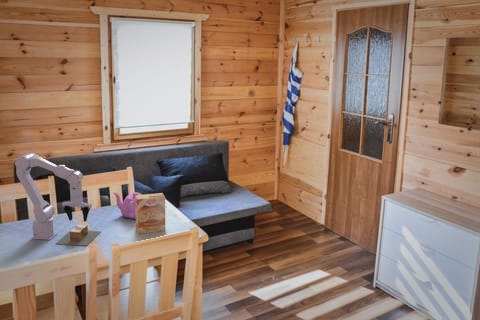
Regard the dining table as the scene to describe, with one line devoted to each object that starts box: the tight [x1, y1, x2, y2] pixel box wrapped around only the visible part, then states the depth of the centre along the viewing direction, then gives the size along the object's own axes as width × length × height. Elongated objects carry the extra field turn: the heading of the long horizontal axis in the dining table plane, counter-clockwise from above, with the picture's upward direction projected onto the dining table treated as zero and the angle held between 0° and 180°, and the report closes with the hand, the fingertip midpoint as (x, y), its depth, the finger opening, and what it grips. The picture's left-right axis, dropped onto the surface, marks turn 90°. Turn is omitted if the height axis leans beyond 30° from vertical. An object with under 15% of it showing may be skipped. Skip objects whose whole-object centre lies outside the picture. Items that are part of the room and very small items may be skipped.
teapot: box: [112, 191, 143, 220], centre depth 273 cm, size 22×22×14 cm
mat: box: [55, 230, 102, 247], centre depth 241 cm, size 16×18×1 cm
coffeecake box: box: [135, 192, 166, 235], centre depth 251 cm, size 15×7×20 cm, turn 112°
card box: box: [69, 223, 89, 241], centre depth 241 cm, size 10×5×5 cm, turn 174°
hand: (78, 220), depth 239 cm, fingers open, 7 cm apart
